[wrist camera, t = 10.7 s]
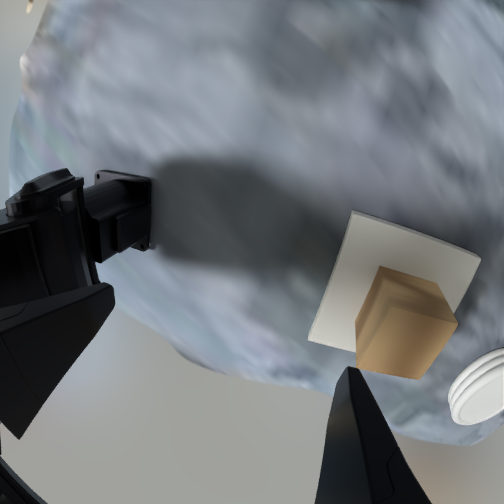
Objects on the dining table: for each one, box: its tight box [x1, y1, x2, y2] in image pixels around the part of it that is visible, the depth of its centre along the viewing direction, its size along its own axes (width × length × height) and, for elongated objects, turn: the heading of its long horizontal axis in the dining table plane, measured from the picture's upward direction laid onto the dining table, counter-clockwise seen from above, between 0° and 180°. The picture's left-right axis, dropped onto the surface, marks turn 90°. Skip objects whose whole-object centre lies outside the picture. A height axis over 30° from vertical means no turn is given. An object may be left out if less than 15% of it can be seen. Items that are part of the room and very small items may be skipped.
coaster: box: [448, 348, 504, 425], centre depth 18 cm, size 10×10×4 cm
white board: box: [308, 210, 481, 352], centre depth 19 cm, size 11×11×1 cm
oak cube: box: [355, 266, 458, 380], centre depth 16 cm, size 5×5×5 cm
